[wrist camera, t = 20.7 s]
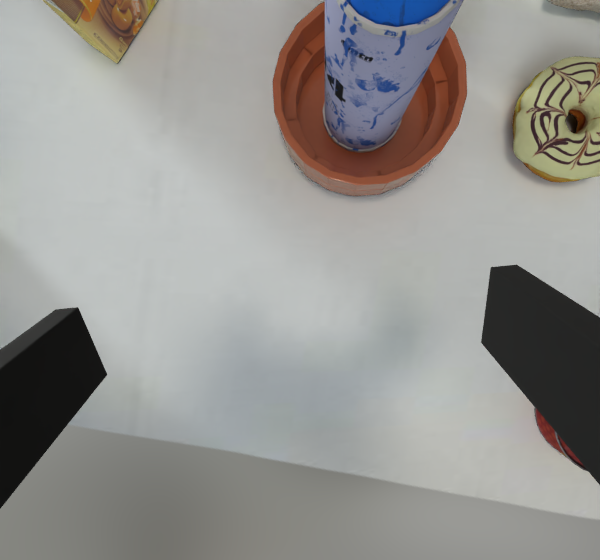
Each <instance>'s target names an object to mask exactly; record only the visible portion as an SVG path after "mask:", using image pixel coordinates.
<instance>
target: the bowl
mask: <svg viewBox="0 0 600 560" xmlns="http://www.w3.org/2000/svg"><path fill="white" fill-rule="evenodd" d="M466 96H467V80H466V62H465V59H464V56H463V54H462V51H461V48H460V46H459V43H458V40H457V38H456V35H455V33H454V32H453V31H452V29H451V28H450V27H449V29H448V31H447V33H446V35H445V37H444V39H443V40H442V42H441V44H440V46H439V48H438V50H437V52H436V54H435V56H434V58H433V59H432V61H431V63H430V65H429V67H428V69H427V71H426V73H425V75H424V77H423V78H422V80H421V82H420V84H419V86H418V88H417V90H416V92H415V94H414V96H413V97H412V99H411V101H410V103H409V105H408V107H407V109H406V111H405V113H404V115H403V117H402V120H401V124H400V126H399V128H398V130H397V131H396V133H395V135H394V137H393V138H392V139H391V140H390V141H389V142H387V143H386V144H385V145H384V146H383V147H380V148H378V149H376V150H374V151H371V152H364V153H357V152H352V151H348V150H346V149H344V148H342V147H340V146H338V145H337V144H336V143H335V142H334V141H333V140H332V139H331V137H330V136H329V135H328V132H327V130H326V128H325V126H324V120H323V106H324V102H325V2H323V3H321V4H319V5H318V6H317V7H316V8H315V9H313V10H312V11H311V12H310V13H309V14H308V15H307V16H306V17H305V18H303V19H302V20H301V21H300V22H299V23H298V24H297V25H296V26H295V28H294V30H293V31H292V33H291V35H290V36H289V38H288V40H287V41H286V43H285V45H284V46H283V48H282V50H281V52H280V54H279V58H278V62H277V66H276V70H275V74H274V78H273V97H274V112H275V115H276V118H277V121H278V125H279V128H280V131H281V134H282V136H283V139H284V141H285V144H286V147H287V149H288V152H289V154H290V156H291V158H292V159H293V160H294V162H295V163H296V164H297V165H298V166H299V168H300V169H301V170H302V171H303V173H304V174H305V175H306V176H307V177H309V178H310V179H312V180H313V181H315V182H316V183H318V184H320V185H321V186H323V187H324V188H326V189H328V190H331V191H335V192H339V193H343V194H346V195H350V196H361V195H376V194H381V193H384V192H386V191H389V190H391V189H394V188H396V187H399V186H401V185H403V184H405V183H406V182H407V181H409V180H410V179H411V178H412V177H414V176H415V175H416V174H417V173H418V172H420V171H421V170H422V169H423V168H425V167H426V166H427V165H428V164H429V163H430V162H431V161H432V160H433V159H434V158H435V157H436V156H437V155H438V154H439V153H440V152H441V151H442V149H443V148H444V146H445V145H446V143H447V142H448V140H449V139H450V137H451V136H452V134H453V132H454V131H455V129H456V128H457V126H458V124H459V121H460V117H461V114H462V110H463V107H464V103H465V100H466Z"/></svg>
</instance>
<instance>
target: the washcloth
mask: <svg viewBox="0 0 600 560" xmlns="http://www.w3.org/2000/svg"><path fill="white" fill-rule="evenodd" d="M547 1H550V2H551V3H552V4H555V5H557V6H561V7H565V8H571V9H576V10H581V11H583V10H590V11H595V12H597V13H600V0H547Z"/></svg>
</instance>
